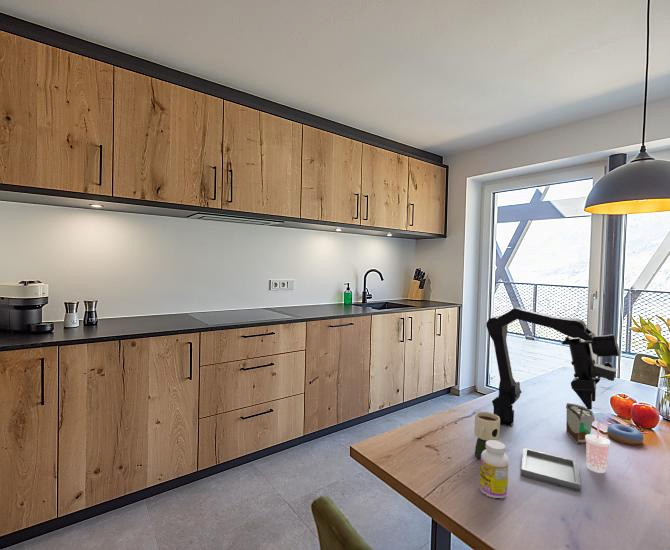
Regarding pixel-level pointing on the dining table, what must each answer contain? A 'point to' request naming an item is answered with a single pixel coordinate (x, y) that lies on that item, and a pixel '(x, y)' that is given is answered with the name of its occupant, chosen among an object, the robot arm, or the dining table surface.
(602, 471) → the beverage cup
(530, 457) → the tray
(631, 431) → the doughnut
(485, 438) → the character mug
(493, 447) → the supplement bottle
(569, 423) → the food container
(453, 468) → the dining table surface
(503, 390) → the robot arm
